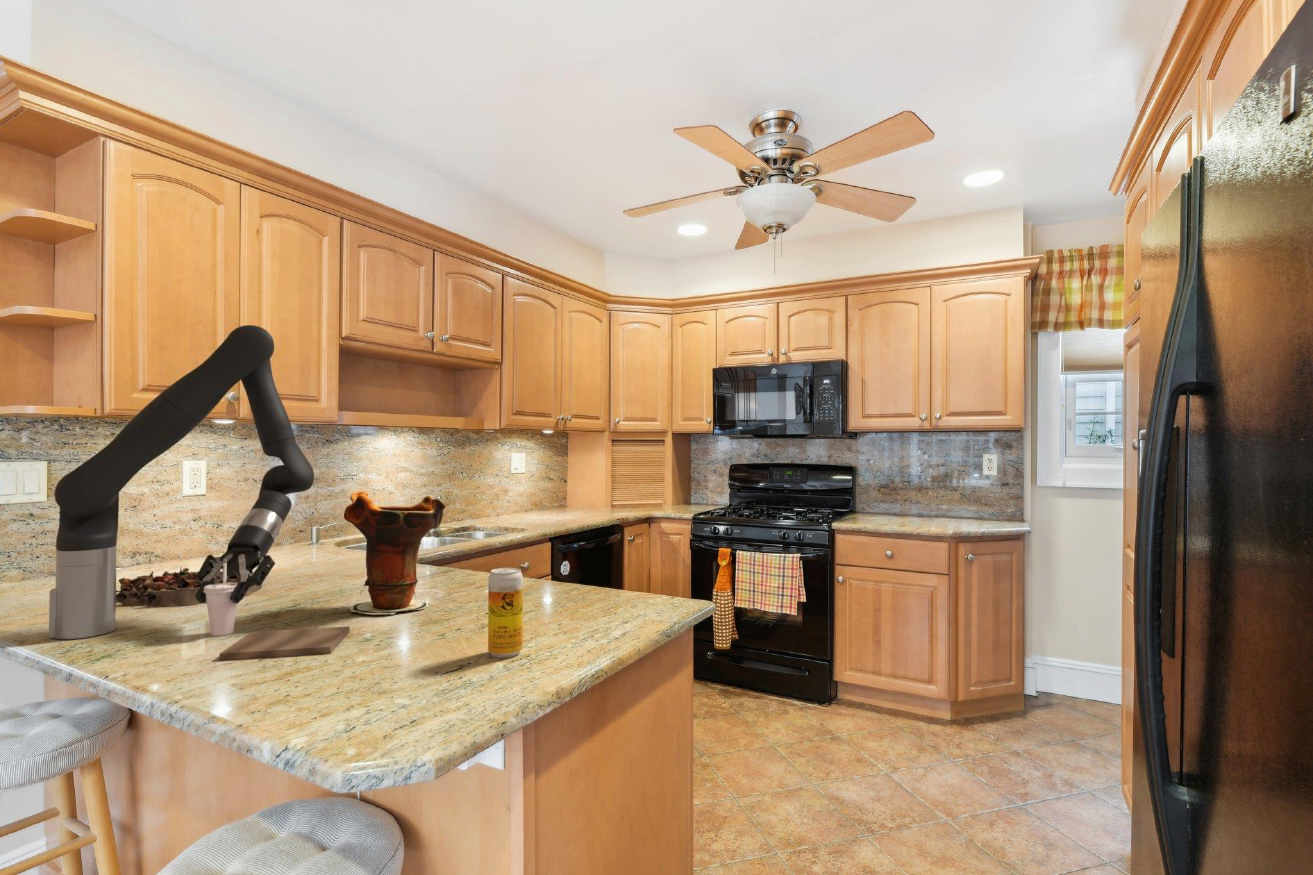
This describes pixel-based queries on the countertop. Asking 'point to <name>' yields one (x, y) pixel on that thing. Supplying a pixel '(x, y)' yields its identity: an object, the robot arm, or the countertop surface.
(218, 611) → the smoothie
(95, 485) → the robot arm
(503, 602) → the beer can
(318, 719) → the countertop surface
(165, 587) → the food dish
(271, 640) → the walnut board
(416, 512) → the decorative vase
